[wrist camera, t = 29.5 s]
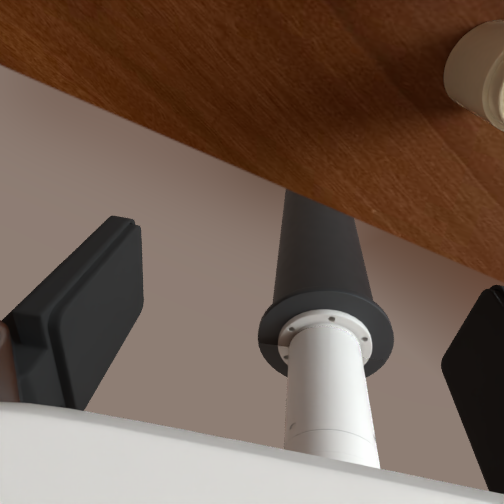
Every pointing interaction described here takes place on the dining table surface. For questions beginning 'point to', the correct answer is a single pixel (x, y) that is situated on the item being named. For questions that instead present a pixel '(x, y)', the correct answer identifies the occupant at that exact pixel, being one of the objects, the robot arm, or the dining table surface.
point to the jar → (479, 72)
